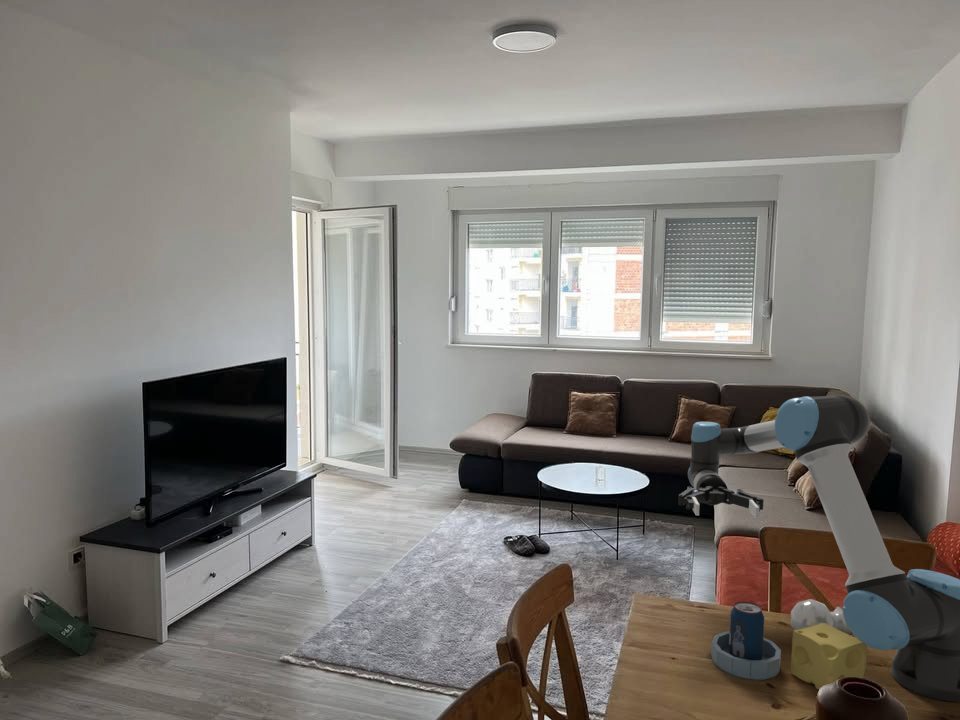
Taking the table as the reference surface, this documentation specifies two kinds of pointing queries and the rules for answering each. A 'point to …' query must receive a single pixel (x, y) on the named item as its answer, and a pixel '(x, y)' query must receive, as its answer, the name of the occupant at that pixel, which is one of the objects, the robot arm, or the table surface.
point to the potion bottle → (817, 616)
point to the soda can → (746, 631)
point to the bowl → (743, 667)
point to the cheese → (826, 655)
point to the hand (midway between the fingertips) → (727, 511)
